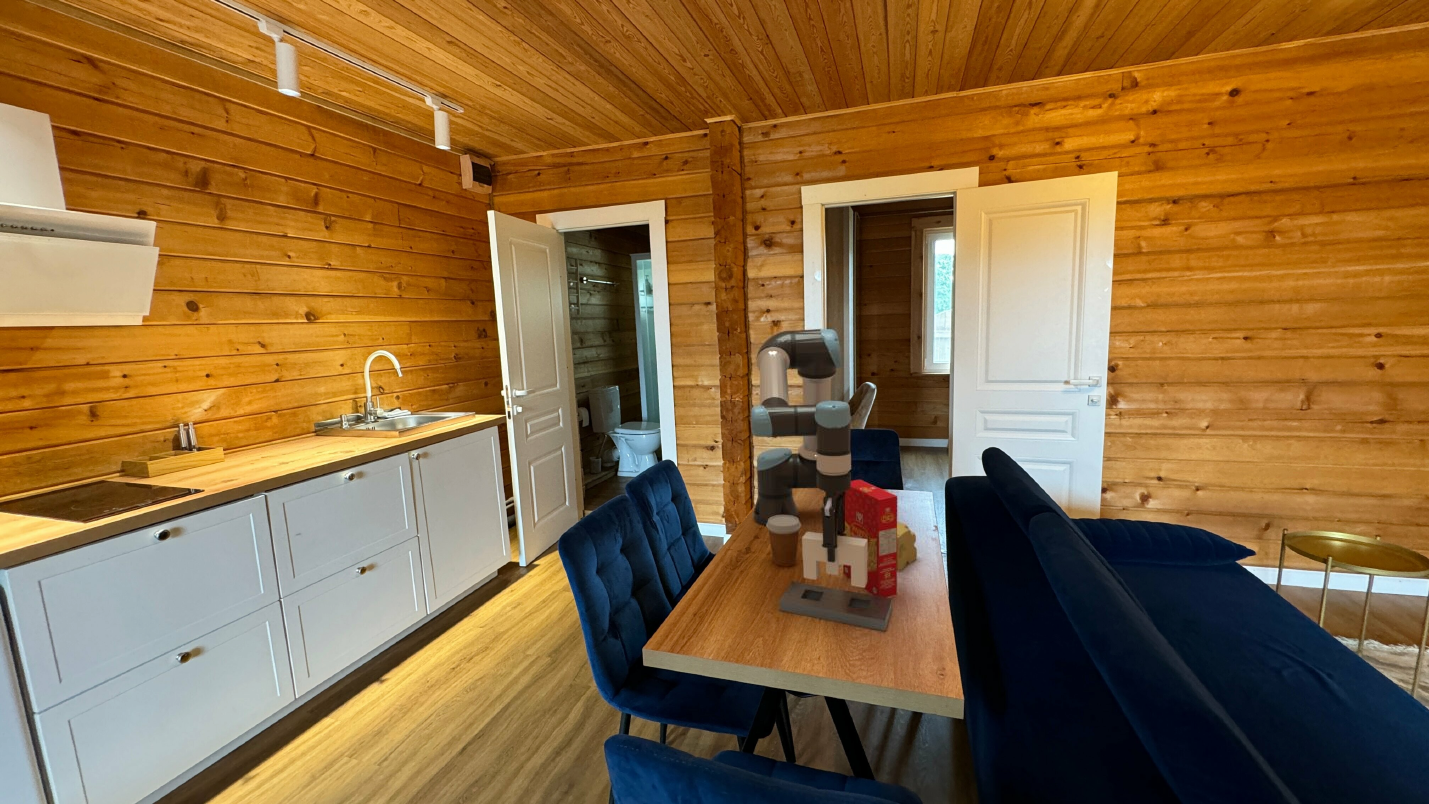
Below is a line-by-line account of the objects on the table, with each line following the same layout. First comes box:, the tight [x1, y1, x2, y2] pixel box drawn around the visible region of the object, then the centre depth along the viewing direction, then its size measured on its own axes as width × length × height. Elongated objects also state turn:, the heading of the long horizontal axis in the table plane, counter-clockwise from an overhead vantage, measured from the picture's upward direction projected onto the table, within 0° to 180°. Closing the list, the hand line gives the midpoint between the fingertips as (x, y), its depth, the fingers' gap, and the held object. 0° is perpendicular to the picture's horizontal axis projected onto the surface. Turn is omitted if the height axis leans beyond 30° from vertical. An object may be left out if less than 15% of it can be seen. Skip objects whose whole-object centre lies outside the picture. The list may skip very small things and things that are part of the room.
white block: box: [801, 531, 868, 589], centre depth 127 cm, size 14×4×10 cm, turn 65°
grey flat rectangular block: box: [778, 580, 893, 632], centre depth 129 cm, size 24×10×2 cm, turn 65°
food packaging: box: [842, 479, 898, 598], centre depth 138 cm, size 15×5×25 cm, turn 21°
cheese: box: [897, 520, 918, 572], centre depth 152 cm, size 10×11×10 cm
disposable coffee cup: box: [765, 515, 802, 567], centre depth 154 cm, size 10×10×12 cm
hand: (834, 568), depth 127 cm, fingers closed on white block, 4 cm apart
